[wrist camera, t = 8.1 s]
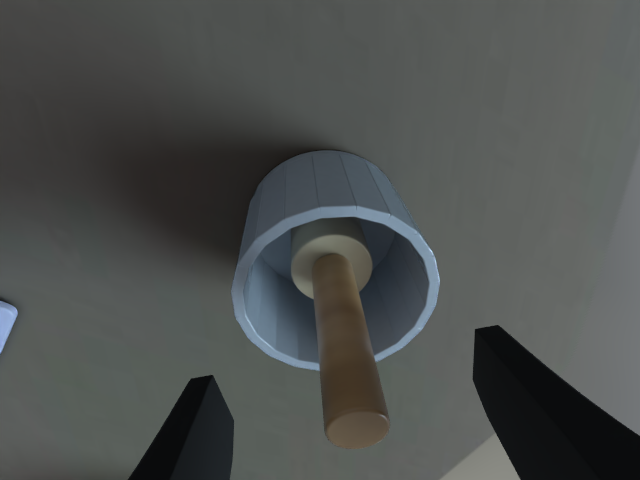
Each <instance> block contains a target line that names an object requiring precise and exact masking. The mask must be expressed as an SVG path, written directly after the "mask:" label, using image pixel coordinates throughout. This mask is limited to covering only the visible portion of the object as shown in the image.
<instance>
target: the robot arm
mask: <svg viewBox="0 0 640 480" xmlns="http://www.w3.org/2000/svg"><path fill="white" fill-rule="evenodd" d="M17 314H18V312H17V309H16V308H15V307H14V306H12V305H11V304H8V303H6V302H3V301H0V354H1V352H2V349H3V347H4V345H5V342H6V340H7V338H8V335H9V333H10V331H11V329H12V326H13V324H14V322H15V319H16V317H17ZM473 382H474V384H475V387H476V389H477V392H478V395H479V397H480V400H481V402H482V405H483V407H484V410H485V412H486V414H487V417H488V419H489V421H490V423H491V425H492V427H493V428H494V430H495V432H496V434H497V436H498V438H499V440H500V442H501V444H502V445H503V447H504V449H505V451H506V453H507V455H508V457H509V459H510V460H511V462H512V464H513V466H514V468H515V470H516V472H517V474H518V475H519V477H520V479H521V480H640V436H639V435H638V434H636V433H634V432H633V431H632V430H630V429H629V428H627V427H626V426H625V425H623V424H622V423H620V422H619V421H617V420H616V419H615V418H613V417H612V416H611V415H609V414H608V413H606V412H605V411H604V410H602V409H601V408H600V407H598V406H597V405H595V404H594V403H593V402H591V401H590V400H589V399H588V398H586V397H585V396H583V395H582V394H581V393H580V392H578V391H577V390H576V389H574V388H573V387H572V386H571V385H569V384H568V383H567V382H565V381H564V380H563V379H562V378H561V377H559V376H558V375H557V374H556V373H554V372H553V371H552V370H551V369H549V368H548V367H547V366H546V365H545V364H543V363H542V362H541V361H540V360H539V359H537V358H536V357H535V356H534V355H533V354H531V353H530V352H529V351H528V350H527V349H526V348H524V347H523V346H522V345H521V344H520V343H519V342H517V341H516V340H515V339H514V338H513V337H512V336H511V335H509V334H508V333H507V332H506V331H505V330H504V329H503V328H501V327H500V326H498V325H495V326H490V327H484V328H478V329H475V342H474V363H473ZM233 436H234V420H233V417H232V415H231V413H230V411H229V409H228V407H227V404H226V402H225V400H224V398H223V396H222V394H221V392H220V389H219V387H218V385H217V383H216V381H215V379H214V376H213V375H209V376H204V377H198V378H192V379H191V380H190V381H189V382H188V384H187V386H186V387H185V389H184V391H183V392H182V394H181V396H180V397H179V399H178V401H177V402H176V404H175V406H174V407H173V409H172V411H171V413H170V414H169V416H168V418H167V419H166V421H165V422H164V424H163V426H162V427H161V429H160V431H159V432H158V434H157V435H156V437H155V439H154V440H153V442H152V443H151V445H150V447H149V448H148V450H147V451H146V453H145V455H144V456H143V458H142V459H141V461H140V462H139V464H138V465H137V467H136V468H135V470H134V471H133V473H132V474H131V476H130V477H129V479H128V480H230V473H231V466H232V457H233Z"/></svg>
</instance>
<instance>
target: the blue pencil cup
mask: <svg viewBox="0 0 640 480" xmlns="http://www.w3.org/2000/svg"><path fill="white" fill-rule="evenodd" d="M336 217H357V218H359V221H360V223H361V227H362V230H363V233H364V236H365V239H366V242H367V245H368V248H369V251H370V254H371V257H372V262H373V269H372V274H371V277H370V279H369V281H368V283H367V284H366V285H365V287H364V288H363V289H362V290H361V291H360V292H359V296H360V300H361V304H362V308H363V312H364V316H365V320H366V325H367V329H368V333H369V337H370V341H371V345H372V349H373V354H374V358H375V362H377V361H380V360H381V359H383V358H385V357H387V356H389V355H390V354H392V353H394V352H396V351H398V350H400V349H401V348H402V347H404V346H405V345H406V344H407V343H408V342H409V341H410V340H411V339H412V338H414V337H415V336H416V335H417V334H418V333H419V332H420V331H421V330H422V329H423V327H424V326H425V324H426V322H427V320H428V319H429V317H430V315H431V313H432V312H433V310H434V308H435V306H436V301H437V296H438V290H439V284H440V277H439V273H438V268H437V264H436V259H435V255H434V253H433V251H432V250H431V248H430V246H429V245H428V243H427V241H426V239H425V238H424V236H423V234H422V233H421V231H420V229H419V228H418V226H417V224H416V222H415V221H414V219H413V217H412V216H411V214H410V212H409V210H408V209H407V207H406V205H405V204H404V202H403V200H402V199H401V197H400V195H399V194H398V192H397V191H396V189H395V188H394V186H393V185H392V183H391V182H390V180H389V179H388V177H387V176H386V175H385V174H384V173H383V172H382V171H381V170H380V169H379V168H377V167H376V166H375V165H374V164H372V163H371V162H369V161H367V160H366V159H364V158H361V157H359V156H357V155H354V154H350V153H347V152H342V151H334V150H321V151H312V152H308V153H304V154H300V155H298V156H295V157H293V158H290V159H288V160H286V161H285V162H283V163H281V164H280V165H278V166H277V167H275V168H274V169H273V170H272V171H271V172H269V173H268V174H267V175H266V176H265V177H264V179H263V180H262V181H261V182H260V184H259V185H258V187H257V188H256V190H255V192H254V194H253V196H252V199H251V201H250V204H249V208H248V213H247V217H246V221H245V225H244V230H243V235H242V240H241V244H240V249H239V254H238V259H237V264H236V268H235V273H234V278H233V283H232V287H231V296H232V302H233V308H234V314H235V317H236V319H237V321H238V323H239V324H240V326H241V328H242V329H243V331H244V333H245V334H246V336H247V337H248V339H249V340H250V341H251V342H253V343H254V344H255V345H256V346H257V347H259V348H260V349H261V350H262V351H264V352H265V353H266V354H267V355H269V356H270V357H273V358H275V359H277V360H280V361H282V362H284V363H287V364H289V365H291V366H295V367H300V368H306V369H312V370H318V371H320V369H319V357H318V345H317V332H316V320H315V308H314V299H312V298H310V297H308V296H306V295H305V294H303V293H302V292H301V291H300V290H299V289H298V288H297V287H296V285H295V283H294V282H293V279H292V276H291V228H293V227H296V226H299V225H302V224H305V223H308V222H311V221H314V220H317V219H320V218H336Z"/></svg>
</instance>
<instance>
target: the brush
mask: <svg viewBox="0 0 640 480" xmlns="http://www.w3.org/2000/svg"><path fill="white" fill-rule="evenodd" d="M372 269H373V262H372V257H371V254H370V251H369V248H368V245H367V242H366V239H365V236H364V233H363V230H362V227H361V223H360V221H359V218H357V217H336V218H320V219H317V220H314V221H311V222H308V223H305V224H302V225H299V226H296V227H293V228H291V276H292V279H293V282H294V283H295V285H296V287H297V288H298V289H299V290H300V291H301V292H302V293H303V294H305V295H306V296H308V297H310V298H312V299H314V308H315V320H316V332H317V345H318V357H319V369H320V381H321V393H322V406H323V418H324V430H325V434H326V436H327V438H328V440H329V441H330V442H331V443H333V444H334V445H336V446H338V447H341V448H346V449H360V448H366V447H369V446H372V445H374V444H376V443H378V442H380V441H381V440H382V439H383V438H384V437H385V436H386V435H387V433H388V431H389V428H390V420H389V416H388V411H387V407H386V403H385V399H384V395H383V391H382V387H381V383H380V378H379V374H378V370H377V366H376V362H375V358H374V354H373V349H372V345H371V341H370V337H369V333H368V329H367V325H366V320H365V316H364V312H363V308H362V304H361V300H360V296H359V292H360V291H361V290H362V289H363V288H364V287H365V285H366V284H367V283H368V281H369V279H370V277H371V274H372Z"/></svg>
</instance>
